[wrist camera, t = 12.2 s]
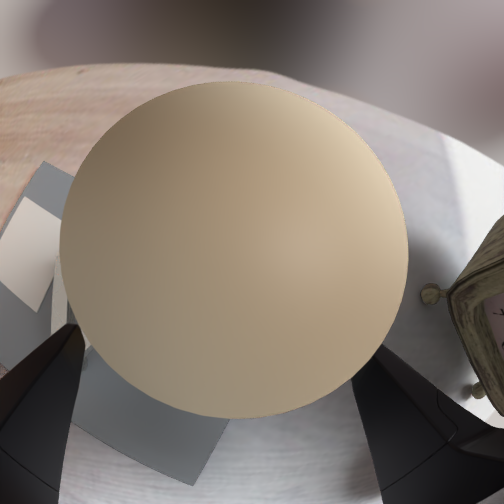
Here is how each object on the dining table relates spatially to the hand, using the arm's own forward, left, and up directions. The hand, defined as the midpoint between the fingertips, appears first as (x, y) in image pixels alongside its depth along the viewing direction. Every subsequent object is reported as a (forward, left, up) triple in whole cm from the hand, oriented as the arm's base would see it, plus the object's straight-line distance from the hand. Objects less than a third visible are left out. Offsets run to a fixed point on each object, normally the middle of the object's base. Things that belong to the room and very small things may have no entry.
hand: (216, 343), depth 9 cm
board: (-2, +7, -9) cm, 12 cm away
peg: (+1, +1, -8) cm, 8 cm away
